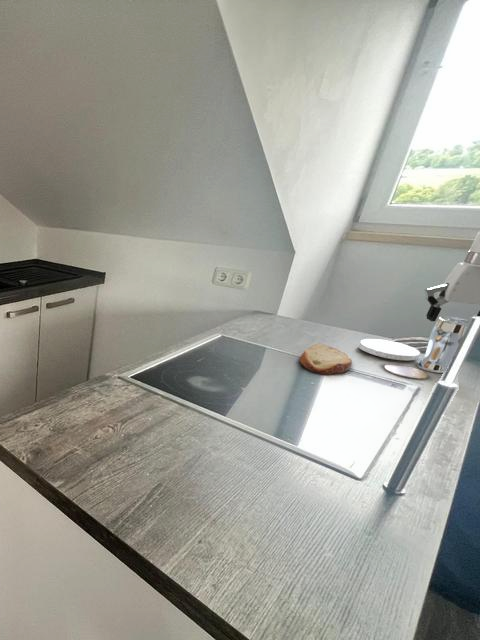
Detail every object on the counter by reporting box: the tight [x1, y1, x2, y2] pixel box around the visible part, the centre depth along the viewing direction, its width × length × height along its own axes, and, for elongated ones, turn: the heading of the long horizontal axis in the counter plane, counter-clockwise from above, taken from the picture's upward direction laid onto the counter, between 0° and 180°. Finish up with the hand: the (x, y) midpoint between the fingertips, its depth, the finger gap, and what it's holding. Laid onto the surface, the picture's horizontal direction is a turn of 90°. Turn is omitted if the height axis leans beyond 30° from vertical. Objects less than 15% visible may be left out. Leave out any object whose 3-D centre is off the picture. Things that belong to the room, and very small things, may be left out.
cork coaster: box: [383, 363, 429, 380], centre depth 112 cm, size 9×9×1 cm
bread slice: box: [299, 343, 352, 376], centre depth 118 cm, size 18×18×4 cm
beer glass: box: [417, 316, 469, 374], centre depth 110 cm, size 7×7×15 cm
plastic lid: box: [358, 338, 421, 362], centre depth 123 cm, size 14×14×2 cm
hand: (453, 322), depth 108 cm, fingers open, 9 cm apart
